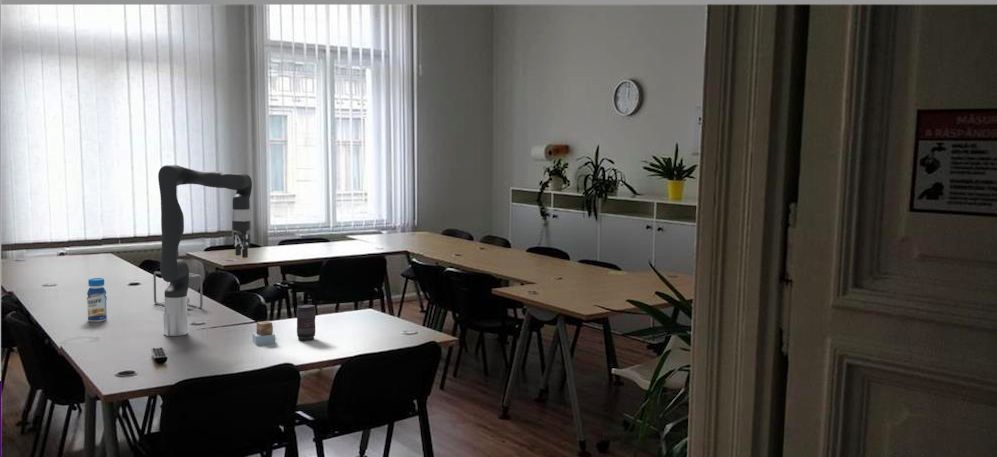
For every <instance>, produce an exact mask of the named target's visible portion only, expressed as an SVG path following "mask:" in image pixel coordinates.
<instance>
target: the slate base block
mask: <svg viewBox="0 0 997 457" xmlns="http://www.w3.org/2000/svg"><path fill="white" fill-rule="evenodd" d="M252 342H253V344H254V345H256V346H261V345H272V344H276V335H275V334H274V331H273V332H272V335H264V336H260V335H258V334H257V331H255V332H252Z"/></svg>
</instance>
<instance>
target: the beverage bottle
mask: <svg viewBox="0 0 997 457" xmlns="http://www.w3.org/2000/svg"><path fill="white" fill-rule="evenodd" d="M87 283H88V287H89V288H88V290H87V292H86V295H87V297H86V301H87V302H86V303H87V321H88V322H90V323H92V322H93V323H96V322H97V323H99V322H104V321H107V319H108V314H107V313H108V312H107V301H108V297H107V291H106V289H105V288H104V286H105V278H104V277H94V278H89V279H88V281H87Z"/></svg>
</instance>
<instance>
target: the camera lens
mask: <svg viewBox="0 0 997 457" xmlns="http://www.w3.org/2000/svg"><path fill="white" fill-rule="evenodd" d="M316 309H317V308H316V305H313V304H300V305H297V307H296V336H297V339H298V341H299V342H310V341H311V342H312V341H313V340H314V339H315V336H316V316H317V314H316Z"/></svg>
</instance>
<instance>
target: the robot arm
mask: <svg viewBox="0 0 997 457" xmlns="http://www.w3.org/2000/svg"><path fill="white" fill-rule="evenodd" d="M157 177H158V186H159V193H160V194H159V195H160V210H161V211H160V212H161V214H160V216H161V217H160V225H161V226H160V227H161V228H160V229H161V255H160V256H161V257H160V265H159V266H160V267H159V272H160V273H161V274H160V275H161V276H160V277H161V278H162V279H163V281H164V282H166V283H169V284H168V286H167V287H166V288H165V290H164V302H165V303H164V304H165V307H164V312H163V334H164V335H165V336H166V337H179V336H185V335H187V334H188V331H189V330H188V310H187V309H188V306H187V297H188V291H189V287H190V286H189V284H190V278H189V276H190V275H189V273H190V268H189V265H188V263H187V262H186V261H185V260H183V259H178V248H179V246H180V243H181V240H182V238H183V235H184V231H185V221H184V219H185V218H184V213H183V210H182V208H181V205H180V203H179V200H178V196H177V195H178V194H177V192H178V191H177V188H178V186H180V185H181V186H182V185H200V186H203V187H208V188H218V189H226V190H227V189H228V190H233V191H235V192H236V193H235V195H234V196H233V197H232V213H231V225H232V226H231V230H232V231H233V234H232V236H233V237H232V243H233V244H232V245H233V246H234V249H235V254H234V256H241V257H242V258H243V259H247V258H249V257H248V256H249V254H248V253H249V252H248V251H249V250H248V249H250V248H251V238H250V234H248V233H247V231H250V230H251V212H250V210H251V209H250V205H251V204H250V198H251V195H252V189H253V188H252V187H253V180H252V178H251V176H250V175H249V174H247V173H227V172H225V171H217V170H216V171H215V170H214V171H213V170H198V169H191V168H188V167H184V166H180V165H178V164H167V165H163V166H161V168H160V169H159V170H158V175H157Z"/></svg>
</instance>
